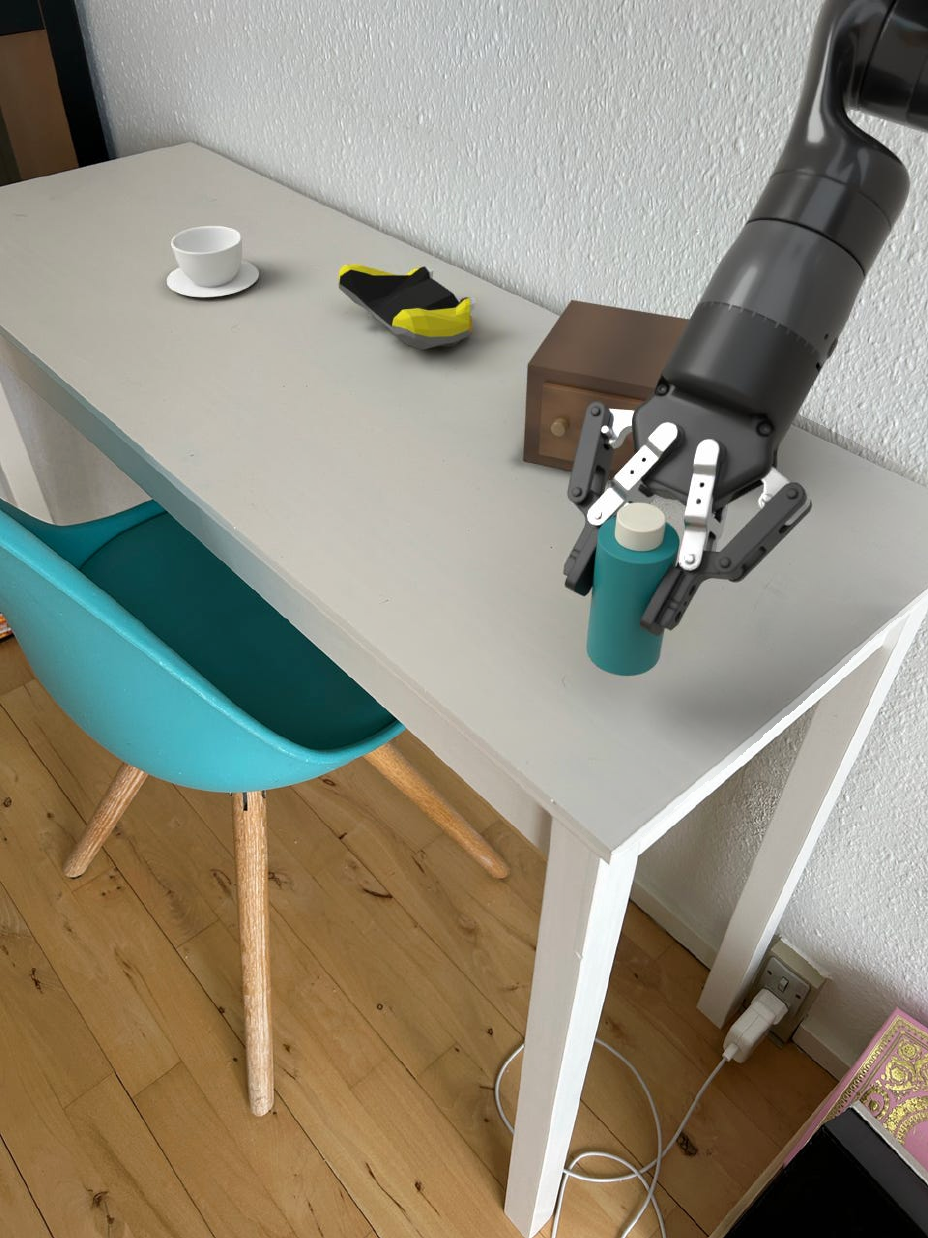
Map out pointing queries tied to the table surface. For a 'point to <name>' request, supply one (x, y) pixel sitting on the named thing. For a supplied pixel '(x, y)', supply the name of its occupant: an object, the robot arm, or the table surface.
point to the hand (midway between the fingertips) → (612, 610)
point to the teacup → (210, 263)
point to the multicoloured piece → (409, 304)
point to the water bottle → (628, 588)
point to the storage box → (592, 376)
